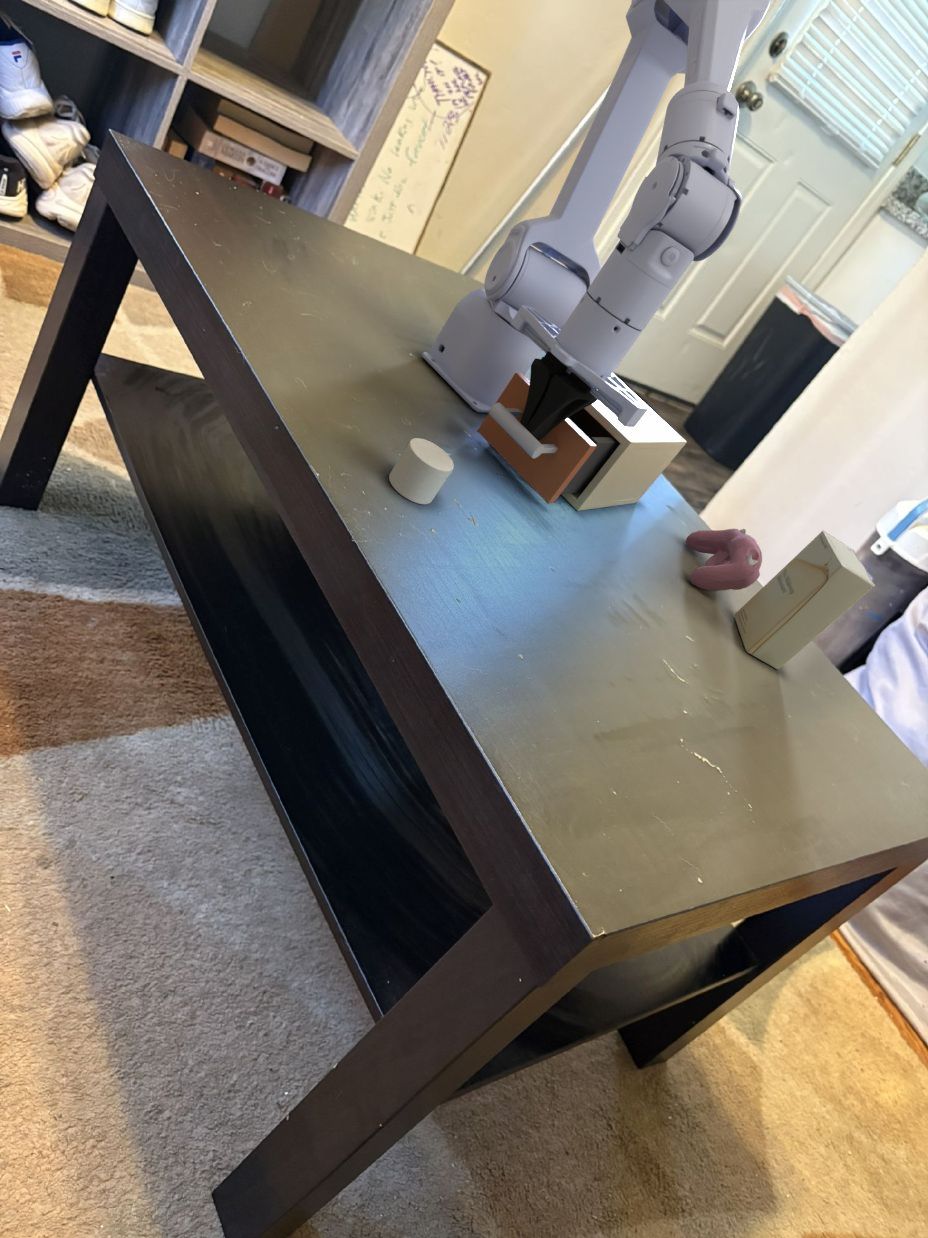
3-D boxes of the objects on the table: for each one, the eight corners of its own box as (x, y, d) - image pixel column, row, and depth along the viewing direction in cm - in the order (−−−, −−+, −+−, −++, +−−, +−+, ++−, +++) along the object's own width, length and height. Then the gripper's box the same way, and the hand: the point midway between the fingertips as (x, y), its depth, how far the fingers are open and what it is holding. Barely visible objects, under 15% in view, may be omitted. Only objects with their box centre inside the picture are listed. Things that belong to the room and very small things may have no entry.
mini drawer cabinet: (577, 511, 86) (631, 442, 81) (501, 434, 89) (549, 364, 85) (636, 503, 96) (687, 441, 92) (567, 434, 100) (612, 372, 96)
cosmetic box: (731, 615, 88) (819, 526, 82) (765, 633, 90) (854, 548, 83) (746, 654, 83) (841, 563, 77) (781, 673, 84) (877, 585, 78)
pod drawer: (523, 506, 77) (567, 446, 74) (450, 430, 81) (489, 369, 77) (608, 496, 91) (650, 445, 87) (543, 431, 94) (580, 379, 90)
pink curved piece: (705, 612, 89) (772, 585, 86) (686, 576, 87) (754, 548, 85) (699, 567, 97) (760, 541, 95) (682, 534, 96) (744, 507, 93)
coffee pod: (379, 472, 69) (400, 437, 68) (411, 470, 73) (432, 437, 71) (409, 506, 68) (432, 471, 66) (440, 503, 71) (463, 470, 69)
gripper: (532, 251, 71) (447, 390, 78) (658, 358, 67) (557, 496, 73) (572, 267, 77) (491, 394, 84) (691, 366, 72) (595, 493, 79)
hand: (524, 442), depth 79 cm, fingers closed, pressing on pod drawer
